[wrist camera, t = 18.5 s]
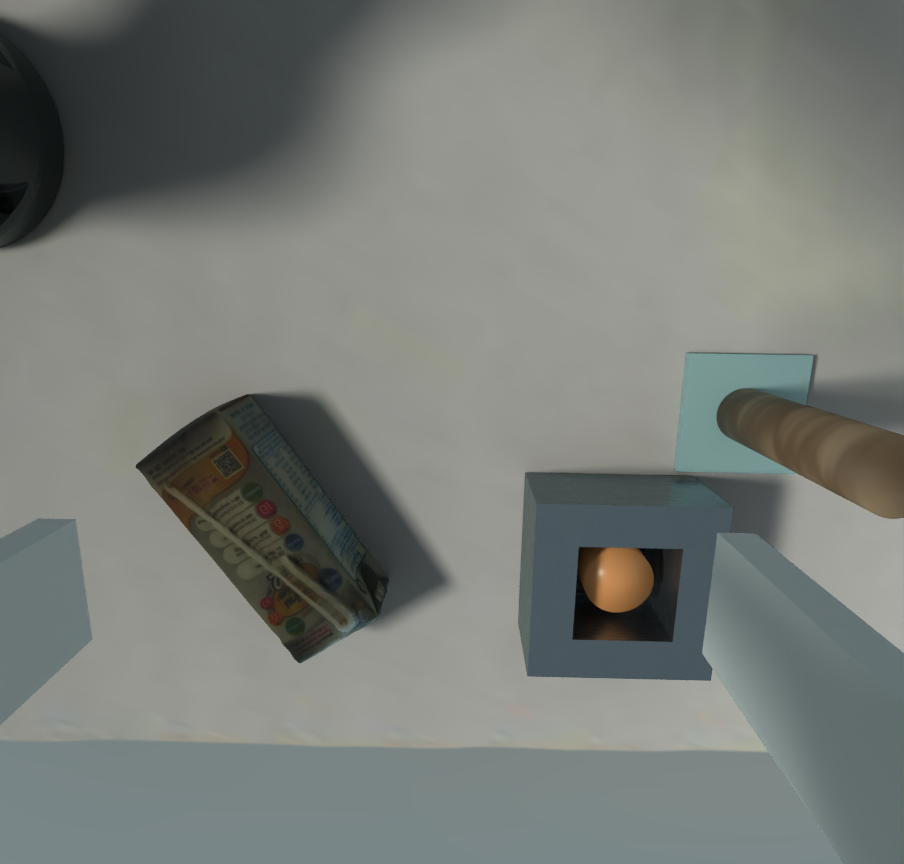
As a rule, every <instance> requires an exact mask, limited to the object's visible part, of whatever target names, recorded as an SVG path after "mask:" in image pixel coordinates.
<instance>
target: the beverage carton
mask: <svg viewBox="0 0 904 864" xmlns="http://www.w3.org/2000/svg"><path fill="white" fill-rule="evenodd" d="M136 468H137V469H138V470H140V472H141V473H142V474H143V475H144V476H145V478H146V479H147V481H148V482H149V483H150V485H151V486H152V487H153V489H154V490H155V491H156V492H157V493H158V494H159V495H160V497H161V498H162V499H163V500H164V501H165V502H166V504H167V505H168V506H169V507H170V508H171V510H172V511H173V512H174V513H175V515H176V516H177V517H178V518H179V519H180V521H181V522H182V523H183V524H184V526H185V527H186V528H187V529H188V530H189V532H190V533H191V534H192V535H193V536H194V537H195V539H196V540H197V541H198V542H199V543H200V544H201V545H202V547H203V548H204V549H205V550H206V551H207V553H208V554H209V555H210V556H211V557H212V559H213V560H214V561H215V562H216V563H217V565H218V566H219V567H220V568H221V569H222V571H223V572H224V573H225V574H226V576H227V577H228V578H229V579H230V581H231V582H232V583H233V584H234V585H235V586H236V588H237V589H238V590H239V591H240V593H241V594H242V595H243V596H244V598H245V599H246V600H247V601H248V602H249V604H250V605H251V606H252V607H253V608H254V610H255V611H256V612H257V613H258V614H259V615H260V617H261V618H262V619H263V620H264V621H265V623H266V624H267V625H268V626H269V627H270V628H271V630H272V631H273V632H274V633H275V634H276V635H277V636H278V637H279V638H280V640H281V642H282V644H283V645H284V646H285V647H286V648H287V649H288V650H289V651H290V653H291V655H292V656H293V658H294V659H295V660H296V661H297V662H298V663H302V662H304V661H305V660H307V659H309V658H311V657H312V656H314V655H316V654H318V653H319V652H321V651H323V650H324V649H326V648H327V647H329V646H331V645H332V644H334V643H336V642H337V641H339V640H341V639H343V638H345V637H347V636H348V635H350V634H352V633H353V632H355V631H357V630H359V629H361V628H363V627H365V626H367V625H368V624H370V623H372V622H373V621H375V620H376V619H377V618H378V617H379V616H380V612H381V607H382V603H383V600H384V598H385V595H386V593H387V586H388V583H389V579H388V577H387V576H386V575H385V574H384V572H383V571H382V569H381V568H380V567H379V565H378V564H377V563H376V562H375V560H374V559H373V558H372V556H371V555H370V554H369V552H368V551H367V550H366V548H365V547H364V546H363V544H362V543H361V542H360V540H359V539H358V538H357V536H356V535H355V533H354V532H353V531H352V529H351V528H350V527H349V525H348V524H347V523H346V521H345V520H344V519H343V517H342V516H341V515H340V513H339V512H338V511H337V509H336V508H335V507H334V505H333V504H332V503H331V502H330V500H329V499H328V497H327V496H326V495H325V493H324V492H323V491H322V489H321V488H320V486H319V485H318V484H317V482H316V481H315V480H314V478H313V477H312V476H311V474H310V473H309V472H308V470H307V469H306V468H305V467H304V465H303V464H302V462H301V461H300V460H299V458H298V457H297V456H296V454H295V453H294V452H293V450H292V449H291V448H290V446H289V445H288V444H287V443H286V441H285V440H284V439H283V437H282V436H281V435H280V433H279V432H278V431H277V430H276V428H275V427H274V426H273V424H272V423H271V422H270V420H269V419H268V418H267V417H266V415H265V414H264V413H263V411H262V410H261V409H260V407H259V406H258V405H257V404H256V403H255V401H254V400H253V399H252V397H251V395H250V394H247V395H244V396H242V397H239V398H236V399H234V400H232V401H229V402H227V403H225V404H222V405H220V406H218V407H216V408H214V409H212V410H210V411H209V412H207V413H205V414H204V415H202V416H200V417H199V418H197V419H195V420H194V421H192V422H191V423H189V424H188V425H186V426H185V427H183V428H182V429H181V430H179V431H178V432H176V433H175V434H174V435H172V436H171V437H170V438H168V439H167V440H166V441H165V442H163V443H162V444H161V445H160V446H158V447H157V448H156V449H155V450H153V451H152V452H151V453H150V454H149V455H147V456H146V457H145V458H144V459H143V460H141V461H140V462H139V463H138V464H137V465H136Z"/></svg>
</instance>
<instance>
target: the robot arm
mask: <svg viewBox="0 0 904 864" xmlns="http://www.w3.org/2000/svg"><path fill="white" fill-rule="evenodd" d="M63 156H64V154H63V138H62V132H61V126H60V122H59V118H58V115H57V111H56V109H55V106H54V103H53V101H52V99H51V96H50V94H49V92H48V90H47V88H46V86H45V84H44V83H43V81H42V79H41V78H40V76H39V75H38V73H37V72H36V70H35V69H34V68H33V66H32V65H31V64H30V63H29V61H28V60H27V59H26V58H25V57H24V56H23V55H22V53H20V52H19V51H18V50H17V49H16V48H15V47H14V46H13V45H12V44H11V43H10V42H9V41H7V40H6V39H5V38H3V37H2V36H1V35H0V247H2V246H5V245H7V244H10V243H12V242H14V241H16V240H18V239H19V238H21V237H23V236H24V235H26V234H27V233H28V232H30V231H31V230H32V229H33V228H34V227H35V226H36V225H37V224H38V223H39V222H40V221H41V220H42V218H43V217H44V216H45V214H46V213H47V211H48V210H49V208H50V206H51V205H52V203H53V201H54V198H55V196H56V194H57V191H58V188H59V184H60V181H61V176H62V169H63ZM91 640H92V634H91V627H90V620H89V612H88V605H87V598H86V591H85V584H84V577H83V569H82V562H81V555H80V548H79V541H78V533H77V526H76V519H37V520H35V521H33V522H31V523H29V524H27V525H26V526H24V527H22V528H20V529H18V530H16V531H14V532H12V533H10V534H9V535H7V536H5V537H3V538H1V539H0V725H1V724H2V723H3V722H4V721H5V720H6V719H7V718H8V717H9V716H10V715H12V714H13V713H14V712H15V711H16V710H17V709H18V708H19V707H20V706H21V705H22V704H23V703H24V702H25V701H27V700H28V699H29V698H30V697H31V696H32V695H33V694H34V693H35V692H36V691H37V690H38V689H39V688H40V687H42V686H43V685H44V684H45V683H46V682H47V681H48V680H49V679H50V678H51V677H52V676H53V675H54V674H55V673H57V672H58V671H59V670H60V669H61V668H62V667H63V666H64V665H65V664H66V663H67V662H68V661H69V660H71V659H72V658H73V657H74V656H75V655H76V654H77V653H78V652H79V651H80V650H81V649H82V648H83V647H84V646H86V645H87V644H88V643H89V642H90V641H91ZM702 654H703V655H704V657H705V658H706V660H707V661H708V663H709V664H710V666H711V667H712V669H713V670H714V672H715V673H716V675H717V676H718V678H719V679H720V680H721V682H722V683H723V685H724V686H725V688H726V689H727V691H728V692H729V694H730V695H731V697H732V698H733V700H734V701H735V703H736V704H737V706H738V707H739V709H740V710H741V712H742V713H743V715H744V716H745V718H746V719H747V721H748V722H749V723H750V725H751V726H752V728H753V729H754V731H755V732H756V734H757V735H758V737H759V738H760V740H761V741H762V743H763V744H764V746H765V747H766V749H767V750H768V752H769V753H770V754H771V756H772V758H773V759H774V761H775V762H776V764H777V765H778V767H779V768H780V769H781V771H782V772H783V774H784V775H785V777H786V778H787V780H788V781H789V783H790V784H791V786H792V787H793V789H794V790H795V792H796V793H797V795H798V796H799V798H800V799H801V800H802V802H803V804H804V805H805V806H806V808H807V809H808V811H809V812H810V814H811V815H812V817H813V818H814V820H815V821H816V823H817V824H818V826H819V827H820V829H821V830H822V831H823V833H824V835H825V836H826V838H827V839H828V841H829V842H830V844H831V845H832V847H833V848H834V850H835V851H836V852H837V854H838V855H839V857H840V858H841V860H842V861H843V863H844V864H904V653H903V652H902V651H900V650H899V649H898V648H897V647H895V646H894V645H893V644H892V643H890V642H889V641H888V640H887V639H885V638H884V637H883V636H882V635H881V634H879V633H878V632H877V631H876V630H874V629H873V628H872V627H871V626H869V625H868V624H867V623H866V622H864V621H863V620H862V619H861V618H859V617H858V616H857V615H856V614H855V613H853V612H852V611H851V610H850V609H848V608H847V607H846V606H845V605H843V604H842V603H841V602H840V601H838V600H837V599H836V598H835V597H833V596H832V595H831V594H830V593H829V592H827V591H826V590H825V589H824V588H822V587H821V586H820V585H819V584H817V583H816V582H815V581H814V580H812V579H811V578H810V577H809V576H808V575H806V574H805V573H804V572H803V571H801V570H800V569H799V568H798V567H796V566H795V565H794V564H793V563H791V562H790V561H789V560H788V559H786V558H785V557H784V556H783V555H782V554H780V553H779V552H778V551H777V550H775V549H774V548H773V547H772V546H770V545H769V544H768V543H767V542H765V541H764V540H763V539H762V538H760V537H759V536H758V535H757V534H756V533H717V540H716V548H715V556H714V564H713V571H712V579H711V587H710V595H709V603H708V611H707V618H706V626H705V634H704V642H703V650H702Z"/></svg>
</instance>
